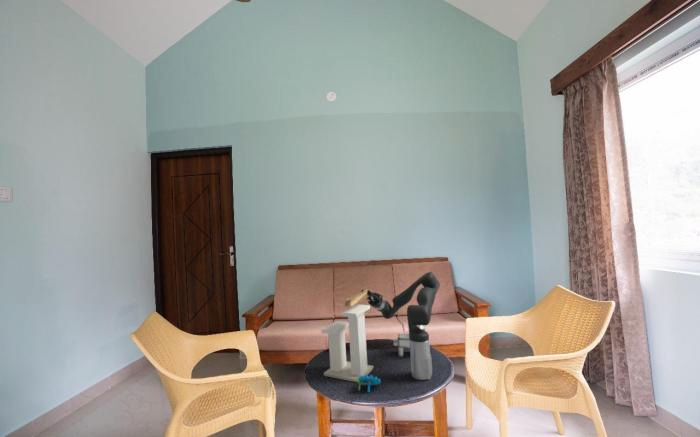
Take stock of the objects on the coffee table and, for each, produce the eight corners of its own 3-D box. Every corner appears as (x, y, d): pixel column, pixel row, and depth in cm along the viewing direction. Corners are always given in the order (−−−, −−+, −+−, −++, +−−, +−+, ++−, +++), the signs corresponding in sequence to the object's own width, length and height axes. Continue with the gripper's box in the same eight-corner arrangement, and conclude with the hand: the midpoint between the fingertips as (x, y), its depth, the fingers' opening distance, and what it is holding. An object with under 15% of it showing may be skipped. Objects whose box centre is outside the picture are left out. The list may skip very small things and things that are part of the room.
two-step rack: (373, 368, 157) (369, 305, 158) (360, 382, 143) (356, 313, 144) (339, 362, 166) (336, 302, 167) (323, 375, 152) (320, 310, 153)
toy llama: (395, 351, 177) (392, 316, 178) (426, 352, 173) (423, 316, 174) (394, 356, 169) (391, 320, 170) (426, 357, 166) (424, 320, 167)
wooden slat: (371, 295, 167) (371, 289, 167) (350, 306, 145) (350, 300, 145) (366, 295, 169) (366, 289, 169) (345, 306, 146) (345, 299, 146)
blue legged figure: (383, 381, 139) (376, 373, 133) (383, 396, 135) (375, 387, 129) (361, 382, 143) (353, 373, 137) (360, 396, 139) (351, 387, 133)
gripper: (366, 294, 181) (354, 284, 168) (388, 295, 174) (378, 285, 162) (364, 307, 177) (352, 298, 164) (387, 308, 171) (376, 299, 158)
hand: (365, 291), depth 163 cm, fingers closed on wooden slat, 3 cm apart
